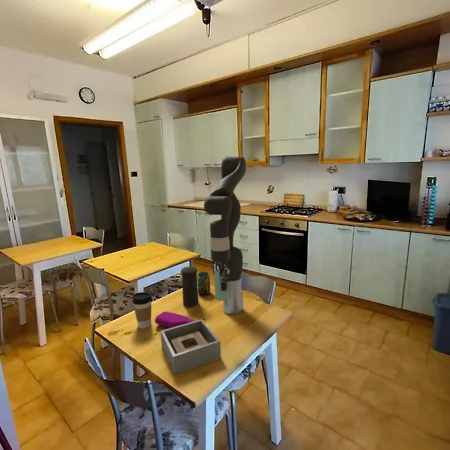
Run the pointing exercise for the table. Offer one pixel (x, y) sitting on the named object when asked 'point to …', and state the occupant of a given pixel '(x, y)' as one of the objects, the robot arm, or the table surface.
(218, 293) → the peg
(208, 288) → the beverage can
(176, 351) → the plate
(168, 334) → the crate
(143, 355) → the table surface
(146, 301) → the coffee cup
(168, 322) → the spray bottle
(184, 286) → the container
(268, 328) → the table surface
